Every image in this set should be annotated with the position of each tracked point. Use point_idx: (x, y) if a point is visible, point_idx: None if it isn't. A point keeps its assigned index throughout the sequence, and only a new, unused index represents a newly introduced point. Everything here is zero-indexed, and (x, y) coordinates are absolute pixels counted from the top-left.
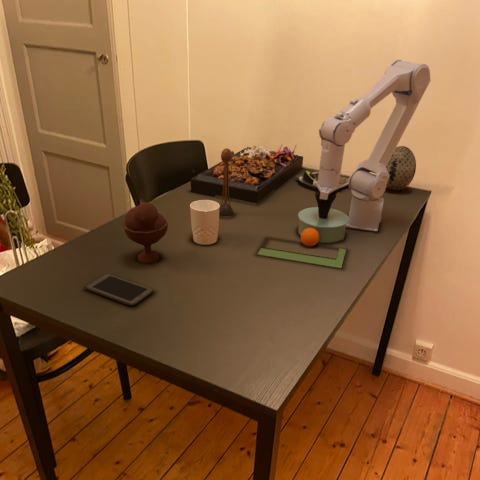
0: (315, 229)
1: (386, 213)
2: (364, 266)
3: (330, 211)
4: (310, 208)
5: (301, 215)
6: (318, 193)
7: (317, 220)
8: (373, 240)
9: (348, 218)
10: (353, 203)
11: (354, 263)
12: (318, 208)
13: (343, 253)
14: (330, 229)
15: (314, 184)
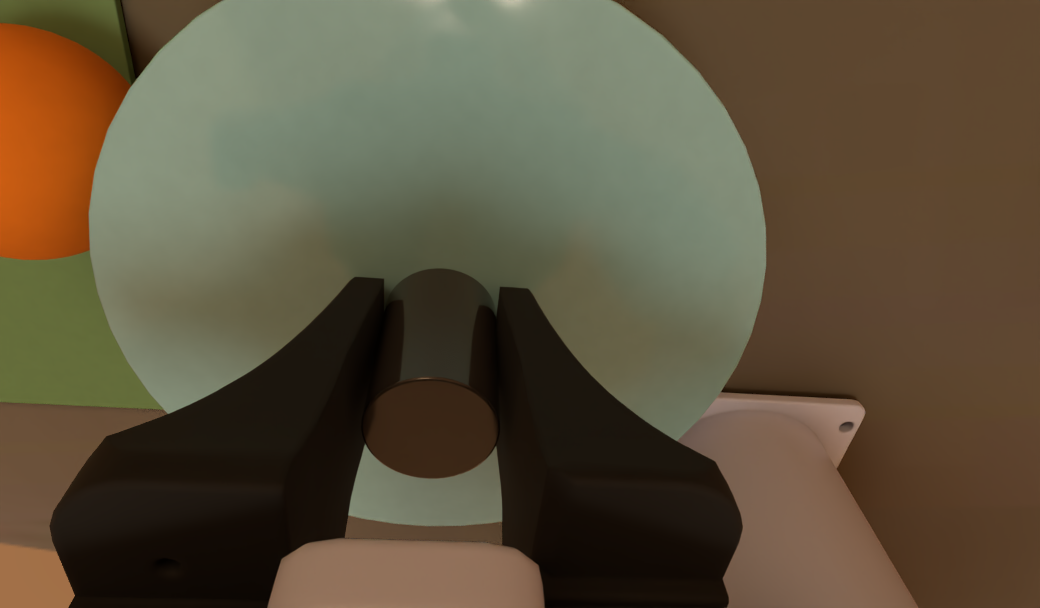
0: None
1: (929, 591)
2: (11, 506)
3: (629, 374)
4: (700, 134)
5: (369, 12)
6: (150, 542)
7: (274, 257)
8: (458, 540)
9: (469, 523)
10: (751, 592)
11: (12, 457)
12: (296, 337)
13: (108, 397)
14: None
15: (271, 603)
